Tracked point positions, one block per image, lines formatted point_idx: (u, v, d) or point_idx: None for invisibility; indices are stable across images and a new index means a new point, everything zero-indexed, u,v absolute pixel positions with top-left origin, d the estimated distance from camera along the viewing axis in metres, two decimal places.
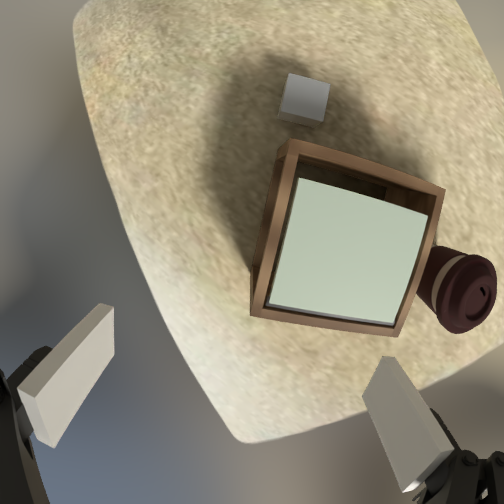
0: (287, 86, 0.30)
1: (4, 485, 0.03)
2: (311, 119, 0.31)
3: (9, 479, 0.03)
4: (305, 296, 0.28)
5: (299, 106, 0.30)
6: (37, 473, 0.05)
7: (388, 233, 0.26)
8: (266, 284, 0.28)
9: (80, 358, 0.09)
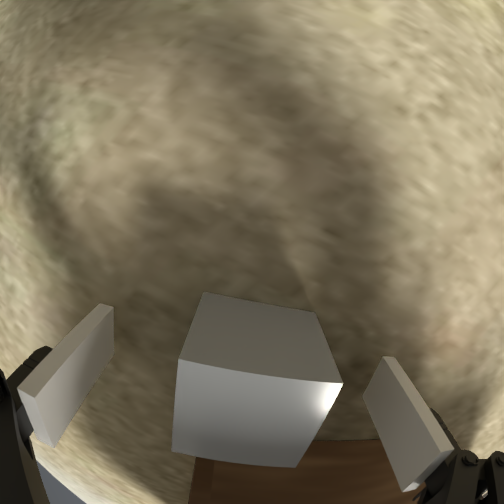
0: (179, 401, 0.08)
1: (4, 485, 0.03)
2: None
3: (9, 479, 0.03)
4: None
5: (225, 447, 0.09)
6: (37, 473, 0.05)
7: None
8: None
9: (80, 358, 0.09)
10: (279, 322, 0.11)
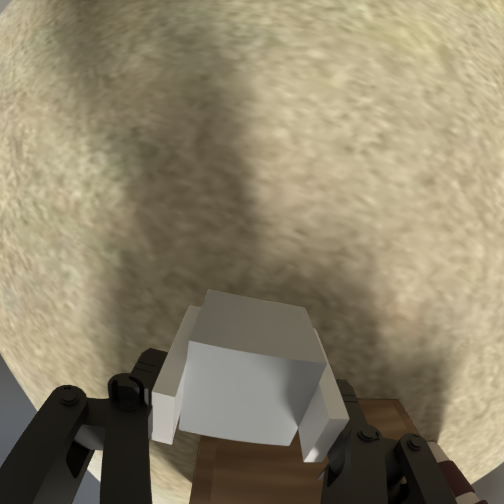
0: (188, 380, 0.10)
1: (121, 492, 0.04)
2: None
3: (129, 487, 0.05)
4: None
5: (226, 423, 0.11)
6: (150, 480, 0.06)
7: None
8: None
9: None
10: (273, 314, 0.13)
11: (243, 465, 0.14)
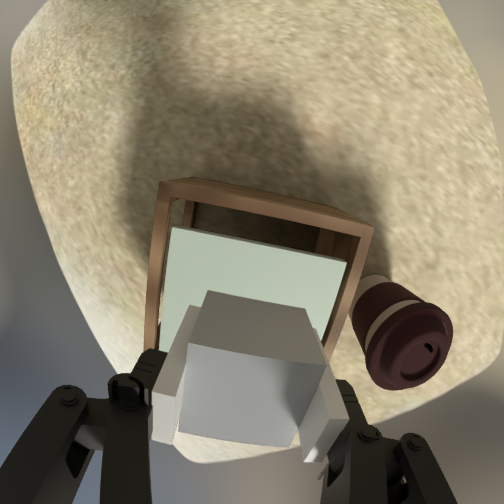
0: (187, 381, 0.10)
1: (121, 492, 0.04)
2: None
3: (129, 487, 0.05)
4: None
5: (226, 425, 0.11)
6: (150, 480, 0.06)
7: (289, 286, 0.23)
8: (152, 337, 0.25)
9: None
10: (273, 316, 0.13)
11: (203, 184, 0.26)
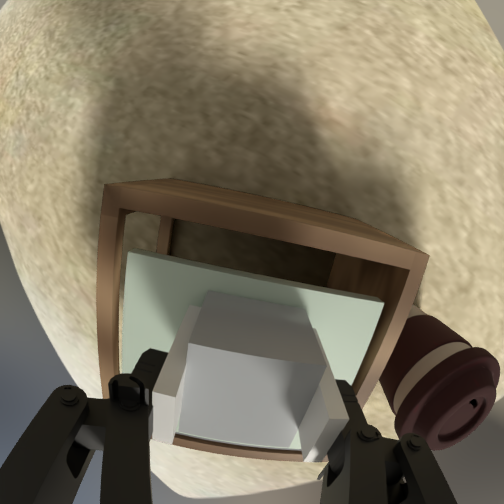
0: (188, 382, 0.10)
1: (121, 492, 0.04)
2: None
3: (129, 487, 0.05)
4: None
5: (226, 425, 0.11)
6: None
7: None
8: None
9: None
10: (273, 316, 0.13)
11: (177, 187, 0.17)
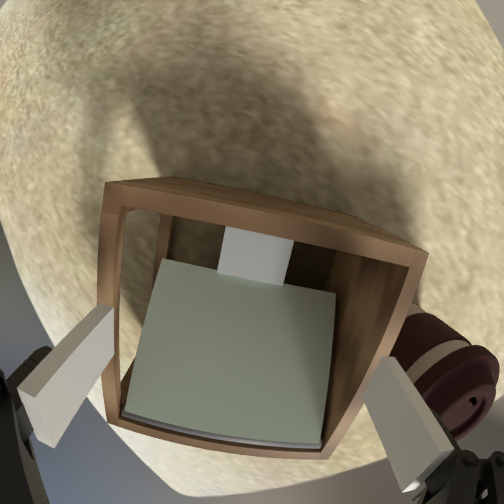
0: None
1: (4, 485, 0.03)
2: None
3: (9, 479, 0.03)
4: (172, 406, 0.18)
5: None
6: (37, 473, 0.05)
7: (282, 318, 0.22)
8: (113, 395, 0.16)
9: (79, 358, 0.09)
10: None
11: (178, 185, 0.17)
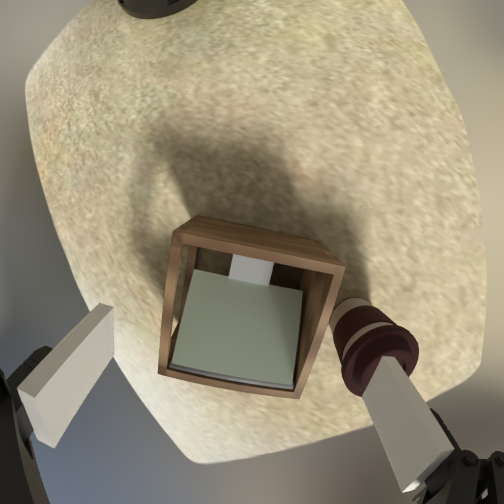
0: None
1: (4, 485, 0.03)
2: None
3: (9, 479, 0.03)
4: (202, 358, 0.32)
5: None
6: (37, 473, 0.05)
7: (268, 306, 0.36)
8: (166, 352, 0.30)
9: (80, 358, 0.09)
10: None
11: (207, 228, 0.32)
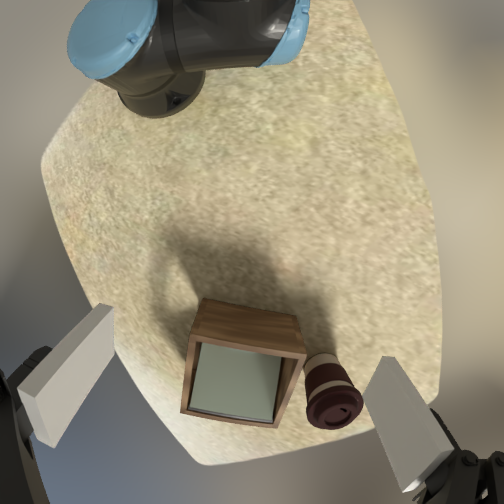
0: None
1: (4, 485, 0.03)
2: None
3: (9, 479, 0.03)
4: (210, 403, 0.44)
5: None
6: (37, 473, 0.05)
7: (256, 366, 0.48)
8: (186, 400, 0.43)
9: (80, 358, 0.09)
10: None
11: (212, 322, 0.44)
